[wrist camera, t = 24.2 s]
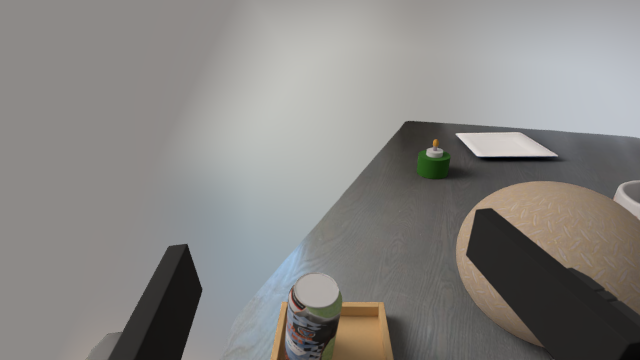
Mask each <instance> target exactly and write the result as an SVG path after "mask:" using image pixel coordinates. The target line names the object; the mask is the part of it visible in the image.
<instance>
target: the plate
mask: <svg viewBox="0 0 640 360" xmlns="http://www.w3.org/2000/svg"><path fill="white" fill-rule="evenodd" d="M456 135H457V136H458V137H459V139H460V140H461V141H462V142H463V143H464V144H465V145H466V146H467V147H468V148H469V149H470V150H471V151H472V152H473V153H474V154H475V155H476V156H477V157H557V156H558V155H556V154H555V153H553V152H551V151H550V150H548V149H547V148H545V147H543V146H542V145H540V144H538V143H537V142H535V141H533V140H532V139H530V138H529V137H527V136H525V135H524V134H522V133H520V132H511V133H457V134H456Z"/></svg>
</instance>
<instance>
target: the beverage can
mask: <svg viewBox="0 0 640 360" xmlns="http://www.w3.org/2000/svg"><path fill="white" fill-rule="evenodd" d="M341 308H342V296H341V293H340V291H339V288H338V285H337V283H336V282H335V281H334V280H333V279H332V278H331V277H329V276H328V275H325V274H322V273H316V272H313V273H307V274H305V275H303V276H301V277H300V278H299V279H298V280H297V281H296V283H295V284H294V285H293V286H292V288H291V290H290V292H289V297H288V310H287V324H286V337H285V350H284V353H285V359H286V360H331V359H332V355H333V350H334V345H335V339H336V334H337V329H338V324H339V319H340V313H341Z"/></svg>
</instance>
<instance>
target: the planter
mask: <svg viewBox="0 0 640 360" xmlns="http://www.w3.org/2000/svg"><path fill="white" fill-rule="evenodd" d="M613 201H615V202H617V203H618V204H620V205H621V206H623V207H624V208H626V209H627V210H628V211H630V212H631V213H632V214H633V215H634V216H635V217H636V218H638V219H639V220H640V181H630V182H626V183H623V184H621V185H620V186H619V187H618V189H617V191H616V194H615V196H614V198H613Z"/></svg>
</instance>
